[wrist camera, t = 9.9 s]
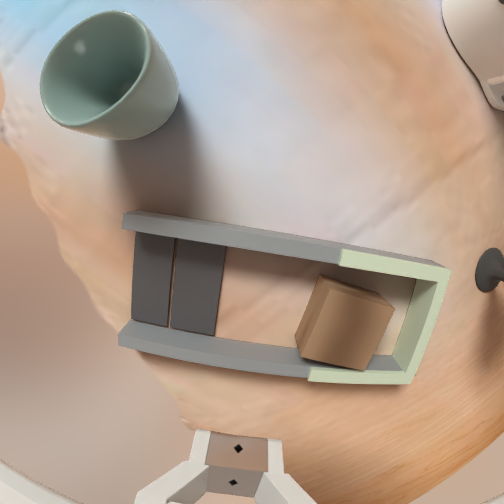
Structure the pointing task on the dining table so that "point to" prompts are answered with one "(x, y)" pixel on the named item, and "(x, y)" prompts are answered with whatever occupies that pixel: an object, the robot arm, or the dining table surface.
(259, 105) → the dining table surface
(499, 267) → the sundae
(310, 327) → the block
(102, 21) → the cup
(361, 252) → the box
